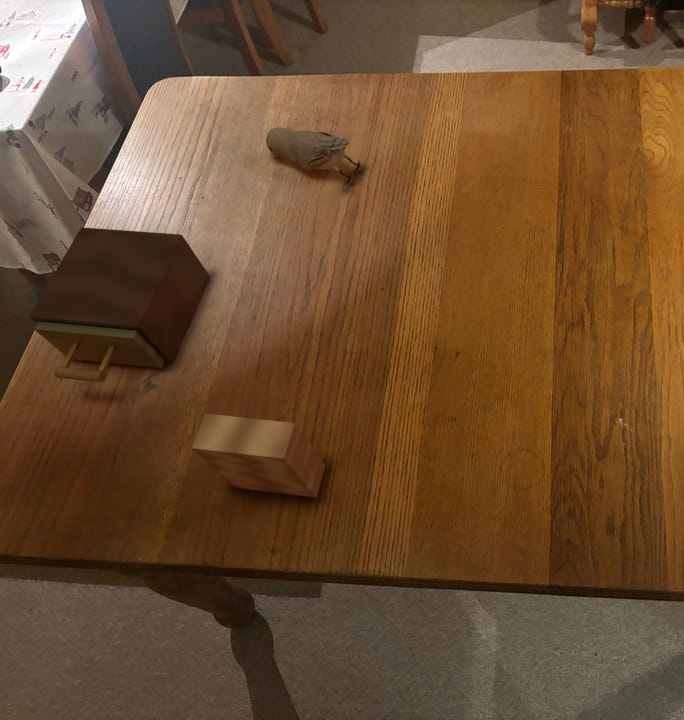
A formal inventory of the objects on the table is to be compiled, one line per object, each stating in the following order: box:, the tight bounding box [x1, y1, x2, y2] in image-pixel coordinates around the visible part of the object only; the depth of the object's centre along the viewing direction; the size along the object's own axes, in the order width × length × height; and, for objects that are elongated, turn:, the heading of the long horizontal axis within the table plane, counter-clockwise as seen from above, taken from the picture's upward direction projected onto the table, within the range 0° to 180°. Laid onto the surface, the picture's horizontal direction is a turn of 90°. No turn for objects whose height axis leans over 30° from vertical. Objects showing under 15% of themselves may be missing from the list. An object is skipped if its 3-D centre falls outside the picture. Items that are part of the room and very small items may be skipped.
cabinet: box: [28, 227, 211, 365], centre depth 88 cm, size 15×15×9 cm
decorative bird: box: [265, 127, 362, 185], centre depth 101 cm, size 5×16×8 cm, turn 66°
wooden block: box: [191, 413, 326, 498], centre depth 73 cm, size 10×4×12 cm, turn 82°
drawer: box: [33, 321, 165, 383], centre depth 86 cm, size 18×13×7 cm
